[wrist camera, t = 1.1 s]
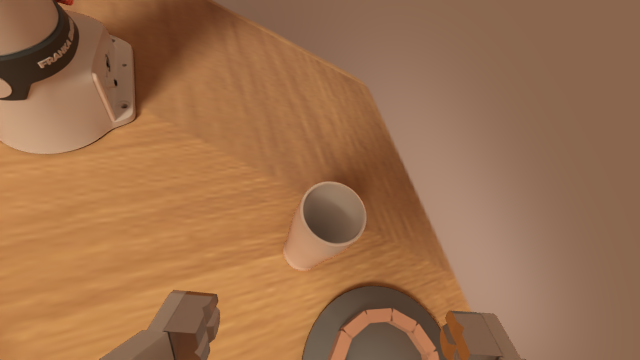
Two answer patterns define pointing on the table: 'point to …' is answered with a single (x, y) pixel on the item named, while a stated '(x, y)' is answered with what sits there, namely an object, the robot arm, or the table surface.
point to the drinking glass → (324, 225)
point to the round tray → (374, 328)
